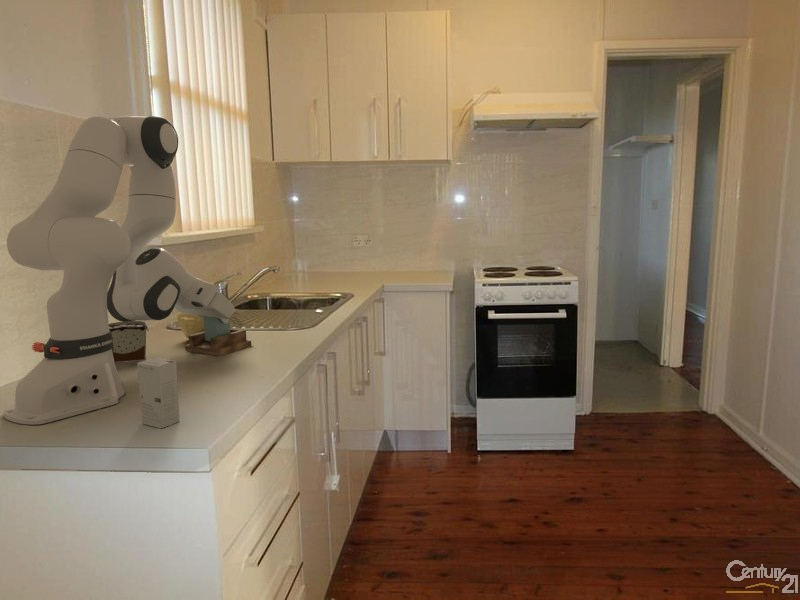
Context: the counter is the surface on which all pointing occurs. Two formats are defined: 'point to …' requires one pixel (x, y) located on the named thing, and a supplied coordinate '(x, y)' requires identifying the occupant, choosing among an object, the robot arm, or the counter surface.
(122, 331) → the food container
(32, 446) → the counter surface
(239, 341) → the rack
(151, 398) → the skincare box
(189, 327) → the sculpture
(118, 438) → the counter surface
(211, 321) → the tin
